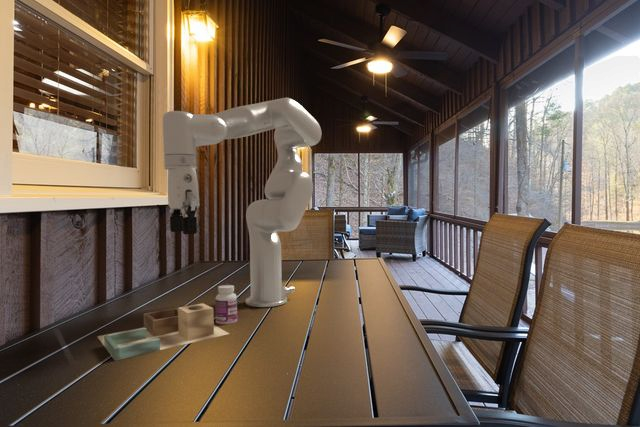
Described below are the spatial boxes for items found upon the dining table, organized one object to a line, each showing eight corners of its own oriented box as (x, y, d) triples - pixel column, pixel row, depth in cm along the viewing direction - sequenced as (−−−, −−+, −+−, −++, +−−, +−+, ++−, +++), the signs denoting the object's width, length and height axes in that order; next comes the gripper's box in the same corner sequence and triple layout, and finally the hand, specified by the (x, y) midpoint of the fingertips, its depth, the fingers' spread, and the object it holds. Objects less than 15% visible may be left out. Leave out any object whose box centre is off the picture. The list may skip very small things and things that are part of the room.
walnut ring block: (177, 321, 102) (176, 307, 102) (188, 329, 96) (188, 314, 96) (144, 327, 97) (143, 313, 97) (154, 336, 91) (153, 321, 91)
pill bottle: (232, 327, 100) (231, 288, 99) (212, 326, 101) (211, 288, 100) (240, 321, 105) (240, 284, 105) (221, 320, 106) (221, 283, 106)
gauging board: (199, 319, 107) (199, 308, 106) (229, 337, 93) (229, 324, 92) (97, 339, 92) (96, 326, 92) (115, 364, 78) (114, 349, 77)
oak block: (203, 328, 97) (202, 302, 97) (213, 334, 92) (213, 308, 92) (178, 333, 93) (177, 307, 93) (188, 340, 88) (187, 312, 88)
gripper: (208, 160, 94) (211, 233, 95) (184, 166, 108) (186, 229, 109) (176, 159, 90) (179, 236, 91) (155, 165, 104) (157, 231, 105)
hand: (183, 232), depth 100 cm, fingers open, 9 cm apart
